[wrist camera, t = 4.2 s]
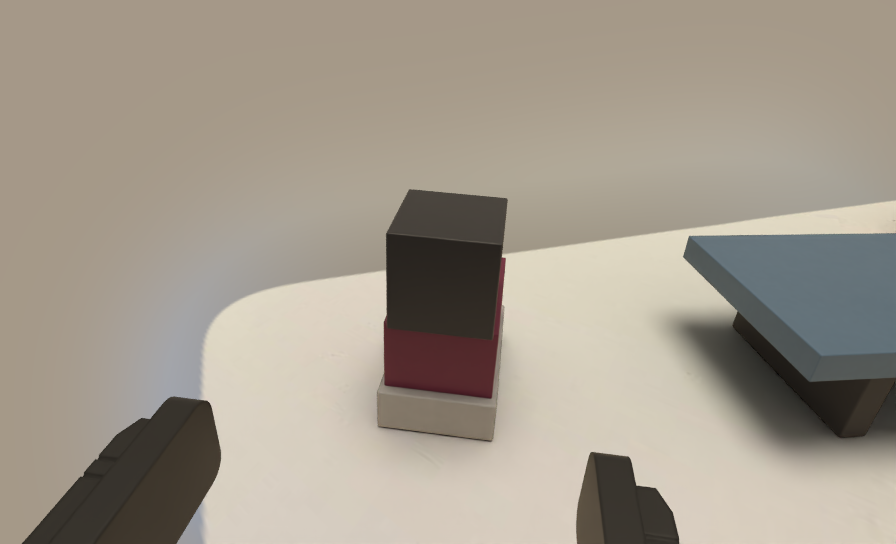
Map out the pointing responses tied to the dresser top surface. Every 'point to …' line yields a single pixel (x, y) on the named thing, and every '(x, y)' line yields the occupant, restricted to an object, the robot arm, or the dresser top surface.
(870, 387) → the ironing board
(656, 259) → the dresser top surface
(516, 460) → the dresser top surface
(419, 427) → the stacked block tower
